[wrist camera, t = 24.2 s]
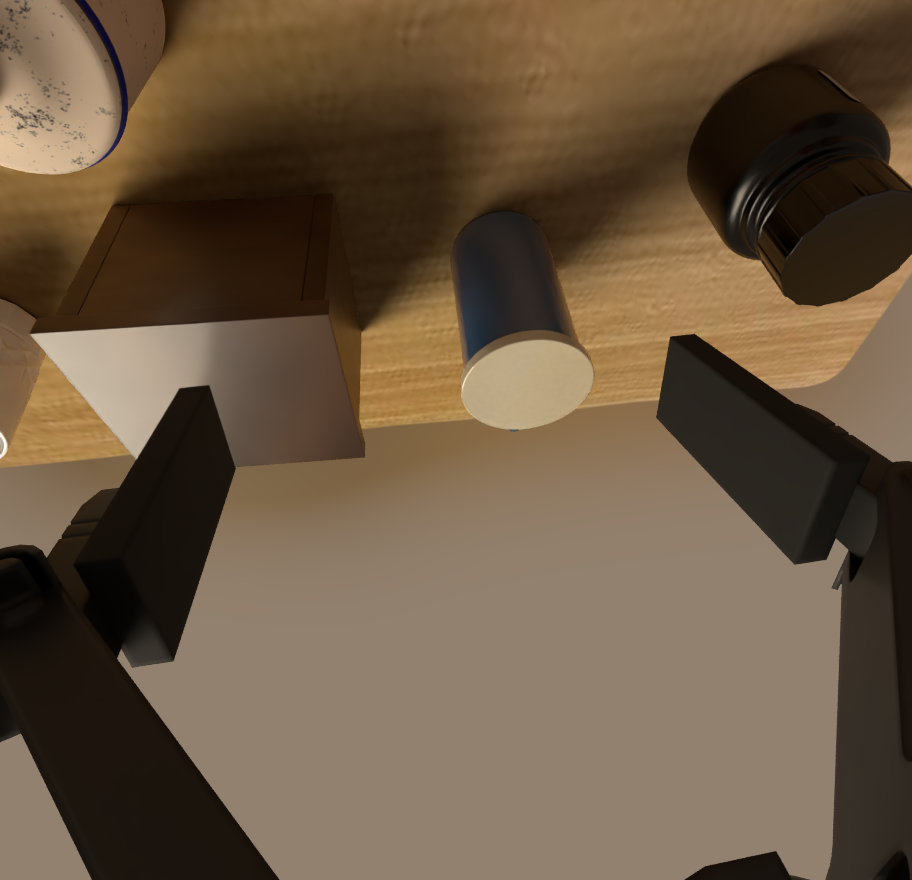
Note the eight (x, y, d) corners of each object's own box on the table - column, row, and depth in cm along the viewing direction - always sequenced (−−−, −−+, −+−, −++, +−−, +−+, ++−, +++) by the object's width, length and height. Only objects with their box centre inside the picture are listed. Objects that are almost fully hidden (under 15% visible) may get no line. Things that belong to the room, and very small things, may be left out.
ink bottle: (798, 199, 39) (893, 313, 31) (671, 220, 39) (736, 337, 32) (863, 37, 31) (1009, 140, 24) (703, 65, 31) (799, 175, 24)
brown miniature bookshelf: (184, 348, 45) (147, 473, 38) (101, 199, 34) (28, 333, 27) (367, 336, 45) (365, 457, 38) (338, 186, 35) (328, 314, 28)
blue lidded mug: (447, 330, 46) (461, 459, 38) (443, 209, 37) (461, 344, 29) (541, 324, 46) (574, 451, 38) (560, 202, 37) (607, 335, 30)
